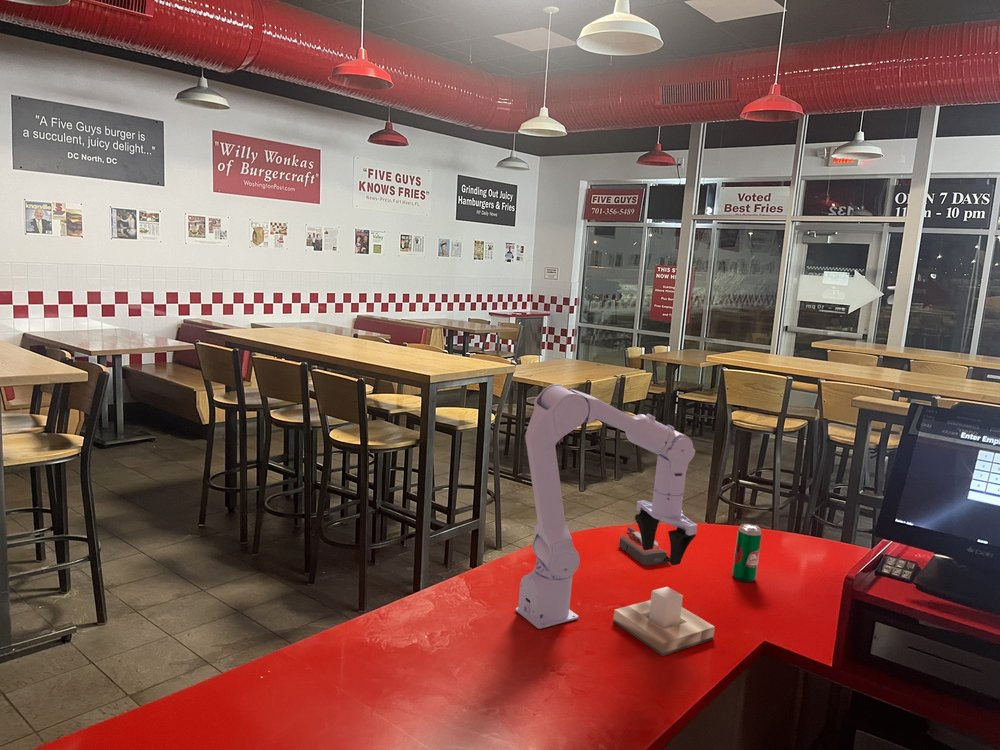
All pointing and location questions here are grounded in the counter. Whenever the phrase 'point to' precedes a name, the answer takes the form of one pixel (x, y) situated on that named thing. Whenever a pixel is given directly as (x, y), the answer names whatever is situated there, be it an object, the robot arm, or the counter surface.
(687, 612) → the holder block
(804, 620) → the counter surface
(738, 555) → the soda can
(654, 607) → the white rectangular block
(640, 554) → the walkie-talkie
